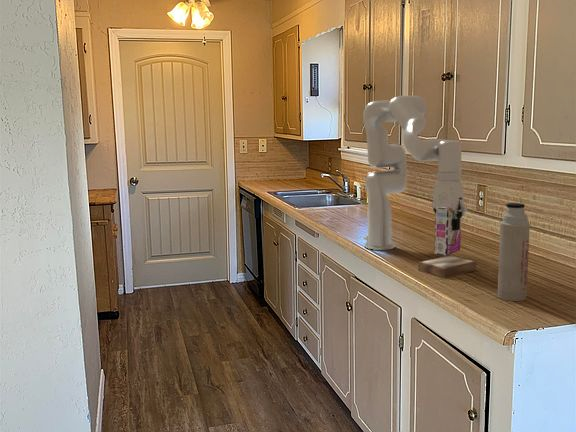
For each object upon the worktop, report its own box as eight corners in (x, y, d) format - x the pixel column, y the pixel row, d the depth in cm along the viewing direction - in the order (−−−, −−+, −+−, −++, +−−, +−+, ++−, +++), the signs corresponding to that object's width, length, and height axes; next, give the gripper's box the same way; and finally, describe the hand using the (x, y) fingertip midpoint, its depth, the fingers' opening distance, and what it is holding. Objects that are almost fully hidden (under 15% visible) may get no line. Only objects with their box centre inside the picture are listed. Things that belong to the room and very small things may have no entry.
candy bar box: (447, 256, 193) (448, 208, 191) (433, 254, 197) (434, 207, 194) (461, 250, 202) (462, 204, 199) (448, 248, 205) (448, 203, 202)
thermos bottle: (531, 297, 169) (536, 203, 164) (516, 302, 164) (520, 206, 159) (507, 291, 175) (511, 200, 170) (491, 296, 170) (495, 203, 166)
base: (418, 270, 201) (418, 261, 200) (449, 263, 209) (449, 255, 209) (444, 277, 191) (444, 268, 190) (476, 270, 200) (476, 261, 199)
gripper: (422, 175, 200) (422, 226, 203) (461, 179, 186) (460, 233, 189) (437, 174, 204) (436, 223, 207) (477, 177, 190) (475, 230, 193)
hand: (448, 228), depth 198 cm, fingers closed on candy bar box, 6 cm apart
